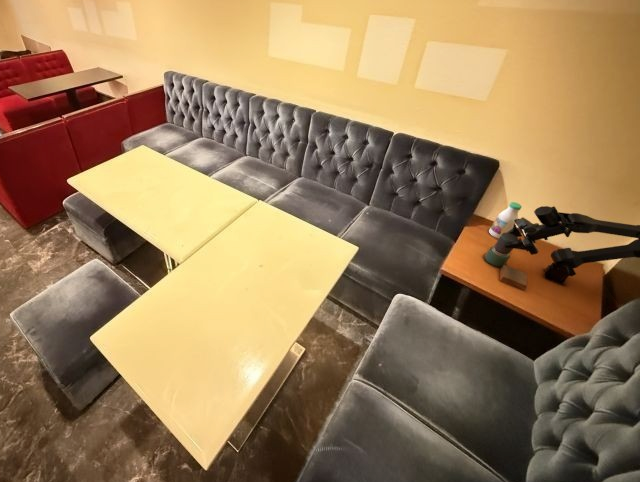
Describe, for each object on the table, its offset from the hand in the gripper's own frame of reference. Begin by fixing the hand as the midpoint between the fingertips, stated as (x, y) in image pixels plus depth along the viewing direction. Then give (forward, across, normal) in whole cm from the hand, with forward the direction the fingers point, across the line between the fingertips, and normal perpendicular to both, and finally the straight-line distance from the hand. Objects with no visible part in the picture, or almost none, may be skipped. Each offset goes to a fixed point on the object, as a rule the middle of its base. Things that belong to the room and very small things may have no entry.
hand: (502, 241), depth 143 cm
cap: (+2, 0, +4) cm, 4 cm away
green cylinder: (+8, 0, +10) cm, 12 cm away
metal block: (+4, +10, +13) cm, 17 cm away
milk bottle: (+4, -23, +14) cm, 27 cm away
